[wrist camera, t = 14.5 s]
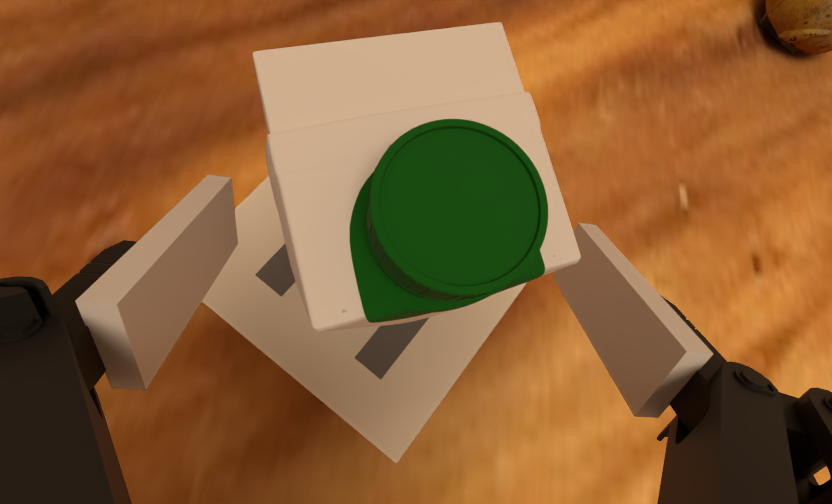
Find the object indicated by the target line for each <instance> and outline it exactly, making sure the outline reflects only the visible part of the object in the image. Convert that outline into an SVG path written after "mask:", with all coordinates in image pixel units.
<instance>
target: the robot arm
mask: <svg viewBox="0 0 832 504" xmlns="http://www.w3.org/2000/svg"><path fill="white" fill-rule="evenodd" d="M574 235H575V239H576V242H577V245H578V248H579V252H580V255H581V258H580V260H579V262H578V263H576V264H573V265H570V266H567V267H565V268H562V269H559V270H557V271H556V272H555V274H554V277H553V278H554V280H555V282H556V283H557V285H558V287H559V288H560V290H561V292H562V293H563V295H564V297H565V299H566V300H567V302H568V304H569V305H570V307H571V309H572V311H573V312H574V314H575V316H576V317H577V319H578V321H579V322H580V324H581V326H582V328H583V329H584V331H585V333H586V334H587V336H588V338H589V340H590V341H591V343H592V345H593V346H594V348H595V350H596V351H597V353H598V355H599V357H600V358H601V360H602V362H603V363H604V365H605V367H606V369H607V370H608V372H609V374H610V375H611V377H612V379H613V381H614V382H615V384H616V386H617V387H618V389H619V391H620V392H621V394H622V396H623V398H624V399H625V401H626V403H627V404H628V406H629V408H630V410H631V411H632V413H633V415H634V416H637V417H655V418H658V417H659V416H660V415H661V414H662V413H663V411H664V410H665V409H666V408H667V407H668V406H669V405H671V407H672V408H673V410H674V411H675V413H676V414H677V415H676V416H675V417H674V419H673V420H672V421H671V422H670V423H669V424H668V425H667V426H666V427H665V428H664V430H663V431H662V432H661V433H660V434H659V435H658V437H657V440H659V441H661V440H662V439H663V438H664V437H668V440H667V447H666V453H665V460H664V466H663V472H662V479H661V485H660V491H659V498H658V504H832V392H830V391H828V390H824V389H820V388H810V389H809V390H808V391H807V392H806V393H804V394H803V395H802V396H801V397H800V398H796V397H793V396H789V395H786V394H783V393H780V392H778V390H777V388H776V387H775V386H774V385H773V384H772V383H771V382H770V381H769V380H768V379H767V378H765V377H764V376H763V375H761V374H760V373H758V372H757V371H755V370H753V369H752V368H750V367H748V366H745V365H743V364H740V363H736V362H727V361H726V360H725V359H724V358H723V357H722V356H721V355H720V353H719V352H718V351H717V350H716V349H715V348H714V347H713V346H712V345H711V344H710V343H709V342H708V341H707V340H706V338H705V337H704V336H703V335H702V334H701V333H700V332H699V331H698V330H697V329H695V327H694V326H693V324H692V323H691V322H690V321H689V320H686V317H685V316H684V315H683V314H682V313H681V312H680V311H679V309H678V308H677V307H676V306H675V305H673V304H672V303H670V302H669V301H668V300H666V299H665V298H663V297H662V296H661V295H659V293H658V292H657V291H656V290H655V289H654V288H653V287H652V286H651V285H650V284H649V283H648V281H647V280H646V279H645V278H644V277H643V276H642V275H641V274H640V273H639V272H638V271H637V269H636V268H635V267H634V266H633V265H632V264H631V263H630V262H629V261H628V260H627V258H626V257H625V256H624V255H623V254H622V253H621V252H620V251H619V250H618V249H617V248H616V246H615V245H614V244H613V243H612V242H611V241H610V240H609V239H608V238H607V237H606V236H605V234H604V233H603V232H602V231H601V230H600V229H599V228H598V227H597V226H596V225H592V224H584V223H578V224H577V227H576V229H575V231H574ZM237 245H238V237H237V227H236V218H235V208H234V198H233V188H232V179H231V178H230V177H222V176H215V175H207V176H206V177H205V178H204V179H203V180H202V181H201V182H200V183H199V184H198V185H197V186H196V187H195V188H194V189H193V190H192V191H190V192H189V193H188V194H187V195H186V196H185V197H184V198H183V199H182V200H181V201H180V202H179V203H178V204H177V205H176V206H175V207H174V208H173V209H172V210H170V211H169V212H168V213H167V214H166V215H165V216H164V217H163V218H162V219H161V220H160V221H159V222H158V223H157V224H156V225H155V226H154V227H153V228H152V229H150V230H149V231H148V232H147V233H146V234H145V235H144V236H143V237H142V238H141V239H140V240H139V241H138V242H134V241H125V240H124V241H122V242H120V243H117V244H115V245H113V246H111V247H109V248H107V249H105V250H103V251H102V252H101V253H100V254H99V255H98V256H96V257H95V258H94V259H93V260H92V261H91V264H87V265H86V266H85V267H84V268H83V269H81V270H80V273H79V274H76V275H75V276H73V277H72V278H71V279H70V280H69V281H68V282H66V283H65V284H64V285H63V286H62V287H61V288H60V289H58V290H57V291H56V292H55V293H54V294H53V295H51V293H50V290H49V288H48V286H47V285H46V284H45V283H44V282H43V280H40V279H37V278H33V277H10V278H3V279H0V504H132V503H131V500H130V497H129V494H128V491H127V487H126V484H125V481H124V478H123V475H122V471H121V468H120V465H119V462H118V459H117V455H116V452H115V449H114V446H113V442H112V439H111V436H110V433H109V430H108V426H107V423H106V420H105V417H104V414H103V410H102V407H101V404H100V401H99V398H98V394H97V392H96V390H95V388H94V386H95V384H96V383H97V382H98V381H99V379H100V378H101V377H102V375H103V374H104V373H106V375H107V378H108V380H109V382H110V385H111V387H112V388H125V389H143V390H146V389H147V388H148V386H149V384H150V383H151V381H152V380H153V378H154V377H155V375H156V373H157V372H158V370H159V369H160V367H161V365H162V364H163V362H164V361H165V359H166V357H167V356H168V354H169V353H170V351H171V350H172V348H173V346H174V345H175V343H176V342H177V340H178V338H179V337H180V335H181V334H182V332H183V330H184V329H185V327H186V326H187V324H188V323H189V321H190V319H191V318H192V316H193V315H194V313H195V311H196V310H197V308H198V307H199V305H200V304H201V302H202V300H203V299H204V297H205V296H206V294H207V292H208V291H209V289H210V288H211V286H212V284H213V283H214V281H215V280H216V278H217V277H218V275H219V273H220V272H221V270H222V269H223V267H224V265H225V264H226V262H227V261H228V259H229V257H230V256H231V254H232V253H233V251H234V250H235V248H236V246H237ZM825 466H827V468H828V469H829V472H830V475H831V479H830V480H829V481H827V482H826V483H824V484H822V485H819V484H818V483H817V482H816V479H815V477H814V474H815V473H817V472H818V471H819V470H821V469H822V468H824V467H825Z"/></svg>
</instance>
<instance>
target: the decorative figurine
mask: <svg viewBox="0 0 832 504" xmlns="http://www.w3.org/2000/svg"><path fill="white" fill-rule="evenodd" d="M765 10H766V13H765V15H764V16H763V17H762V19H761V20H760V21H759V22H758V25H759V26H761V27H762V28H764V29H765V30H766V31H768V32H769V33H770V34H771V35H772V36H773V37H774V38H775V39H776V40H777V41H779V43H781V44H782V45H783V46H784V47H785V48H786V49H787V50H788V51H789V52H790V53H792V54H794V53H795V52H797V51H798V50H802V51H803V52H804V53H807V54H809V53H812V54H820V53H825V52H829V51H832V0H766V2H765Z"/></svg>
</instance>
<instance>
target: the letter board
mask: <svg viewBox="0 0 832 504" xmlns="http://www.w3.org/2000/svg"><path fill="white" fill-rule="evenodd" d="M235 218H236V227H237V237H238V245H237V246H236V248H235V250H234V251H233V253H232V254H231V256H230V257H229V259H228V261H227V262H226V264H225V265H224V267H223V269H222V270H221V272H220V273H219V275H218V277H217V278H216V280H215V281H214V283H213V284H212V286H211V288H210V289H209V291H208V292H207V294H206V296H205V297H204V299H203V300H202V302H203V303H204V304H206V305H207V306H208V307H209V308H210V309H212V310H213V311H214V312H215V313H216V314H218V315H219V316H220V317H221V318H222V319H224V320H225V321H226V322H227V323H228V324H230V325H231V326H232V327H233V328H234V329H235V330H237V331H238V332H239V333H240V334H241V335H243V336H244V337H245V338H246V339H247V340H249V341H250V342H251V343H252V344H253V345H255V346H256V347H257V348H258V349H259V350H261V351H262V352H263V353H264V354H265V355H267V356H268V357H269V358H270V359H271V360H273V361H274V362H275V363H276V364H277V365H279V366H280V367H281V368H282V369H283V370H285V371H286V372H287V373H288V374H289V375H291V376H292V377H293V378H294V379H295V380H297V381H298V382H299V383H300V384H301V385H303V386H304V387H305V388H306V389H307V390H309V391H310V392H311V393H312V394H313V395H315V396H316V397H317V398H318V399H319V400H321V401H322V402H323V403H324V404H325V405H327V406H328V407H329V408H330V409H331V410H332V411H334V412H335V413H336V414H337V415H338V416H340V417H341V418H342V419H343V420H344V421H346V422H347V423H348V424H349V425H350V426H352V427H353V428H354V429H355V430H356V431H358V432H359V433H360V434H361V435H362V436H364V437H365V438H366V439H367V440H368V441H370V442H371V443H372V444H373V445H374V446H376V447H377V448H378V449H379V450H380V451H382V452H383V453H384V454H385V455H386V456H388V457H389V458H390V459H391V460H392V461H394V462H395V463H396V464H397V462H398V461H399V460H400V458H401V457H402V455H403V454H404V453H405V451H406V450H407V448H408V447H409V446H410V444H411V443H412V442H413V440H414V439H415V437H416V436H417V435H418V433H419V432H420V430H421V429H422V428H423V426H424V425H425V423H426V422H427V421H428V419H429V418H430V417H431V415H432V414H433V412H434V411H435V410H436V408H437V407H438V405H439V404H440V403H441V401H442V400H443V398H444V397H445V396H446V394H447V393H448V391H449V390H450V389H451V387H452V386H453V385H454V383H455V382H456V380H457V379H458V378H459V376H460V375H461V373H462V372H463V371H464V369H465V368H466V366H467V365H468V364H469V362H470V361H471V360H472V358H473V357H474V355H475V354H476V353H477V351H478V350H479V348H480V347H481V346H482V344H483V343H484V341H485V340H486V339H487V337H488V336H489V335H490V333H491V332H492V330H493V329H494V328H495V326H496V325H497V323H498V322H499V321H500V319H501V318H502V316H503V315H504V314H505V312H506V311H507V310H508V308H509V307H510V305H511V304H512V303H513V301H514V300H515V298H516V297H517V296H518V294H519V293H520V291H521V290H522V289H523V287H524V286H525V285H526V283H527V282H526V283H523V284H521V285H518V286H515V287H512V288H509V289H507V290H504V291H502V292H499V293H496V294H494V295H491V296H489V297H487V298H485V299H483V300H481V301H479V302H476V303H474V304H471V305H468V306H465V307H462V308H459V309H455V310H450V311H447V312H444V313H441V314H439V315H435V316H432V317H429V318H425V319H421V320H417V321H413V322H407V323H401V324H394V325H384V326H373V327H363V328H352V329H343V330H333V331H325V332H316V331H315V329H314V328H313V327H312V326H311V323H310V320H309V318H308V315H307V312H306V309H305V307H304V304H303V301H302V298H301V296H300V293H299V290H298V287H297V284H296V281H295V278H294V275H293V272H292V269H291V265H290V261H289V257H288V253H287V249H286V244H285V240H284V235H283V231H282V226H281V222H280V218H279V214H278V210H277V207H276V204H275V200H274V195H273V191H272V187H271V182H270V177H269V176H268V177H267V178H266V179H265V180H264V181H263V182H262V183H261V184H260V185H259V186H258V187H257V188H256V189H255V190H254V191H253V192H252V193H251V194H250V195H249V196H248V197H247V198H245V199H244V200H243V201H242V202H241V203H240V204H239V205H238V206H237V207H236V208H235Z"/></svg>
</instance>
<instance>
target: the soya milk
mask: <svg viewBox="0 0 832 504" xmlns="http://www.w3.org/2000/svg"><path fill="white" fill-rule="evenodd" d="M253 59H254V65H255V70H256V76H257V81H258V86H259V91H260V96H261V101H262V106H263V111H264V117H265V122H266V127H267V132H268V136H267V142H266V159H267V167H268V173H269V177H270V182H271V187H272V191H273V195H274V200H275V204H276V207H277V210H278V214H279V218H280V222H281V226H282V231H283V235H284V240H285V244H286V249H287V253H288V257H289V261H290V265H291V269H292V272H293V275H294V278H295V281H296V284H297V287H298V290H299V293H300V296H301V298H302V301H303V304H304V307H305V309H306V312H307V315H308V318H309V320H310V323H311V326H312V327H313V328H314V329H315V331H316V332H325V331H333V330H343V329H352V328H363V327H373V326H384V325H394V324H401V323H407V322H413V321H417V320H421V319H425V318H429V317H432V316H435V315H439V314H441V313H444V312H447V311H450V310H455V309H459V308H462V307H465V306H468V305H471V304H474V303H476V302H479V301H481V300H483V299H485V298H487V297H489V296H491V295H494V294H496V293H499V292H502V291H504V290H507V289H509V288H512V287H515V286H518V285H521V284H523V283H526V282H529V281H531V280H534V279H536V278H539V277H541V276H544V275H546V274H549V273H551V272H554V271H557V270H559V269H562V268H565V267H567V266H570V265H573V264H576V263H578V262H579V260H580V258H581V255H580V252H579V248H578V245H577V242H576V239H575V235H574V232H573V229H572V226H571V223H570V220H569V217H568V213H567V210H566V207H565V204H564V201H563V198H562V195H561V192H560V188H559V185H558V182H557V179H556V176H555V173H554V170H553V167H552V163H551V160H550V157H549V154H548V151H547V148H546V145H545V142H544V139H543V136H542V133H541V129H540V127H541V125H540V120H539V117H538V114H537V110H536V107H535V105H534V102H533V99H532V97H531V95H530V93H529V92H524V89H523V86H522V83H521V80H520V77H519V74H518V71H517V68H516V65H515V62H514V59H513V56H512V53H511V50H510V47H509V44H508V41H507V38H506V35H505V32H504V29H503V26H502V23H501V22H496V23H487V24H479V25H470V26H462V27H454V28H445V29H437V30H428V31H420V32H412V33H403V34H395V35H387V36H378V37H370V38H362V39H353V40H345V41H337V42H328V43H320V44H312V45H303V46H295V47H287V48H278V49H270V50H262V51H255V52H253Z"/></svg>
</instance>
